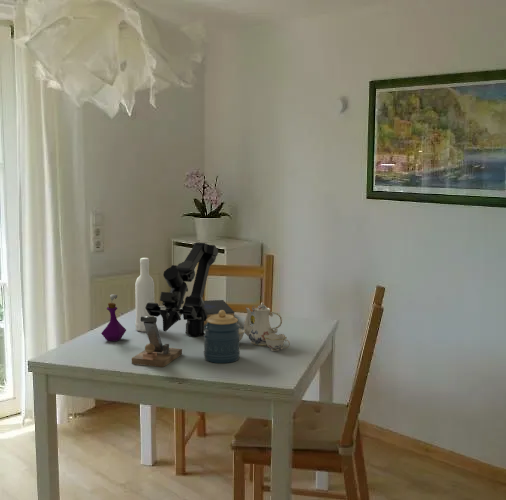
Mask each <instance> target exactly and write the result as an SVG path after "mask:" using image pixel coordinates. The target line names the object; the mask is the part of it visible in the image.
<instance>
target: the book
mask: <svg viewBox="0 0 506 500" xmlns="http://www.w3.org/2000/svg"><path fill="white" fill-rule="evenodd" d="M203 301H204V304H205V310H206V312H207V314H208V317H207V318H209V317H210V316H211V315H215V314H218V313H219V311H220V310H224V311H225V312H226V314H229V315H233V316H234V317H235V311H234V310H233V309H232V308H231V307H230V306H229V304H228V303H227V302H226V301H224V299H218V300H217V299H213V300H212V299H211V300H209V299H208V300H203ZM205 324H207V321H204V325H205Z"/></svg>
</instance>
